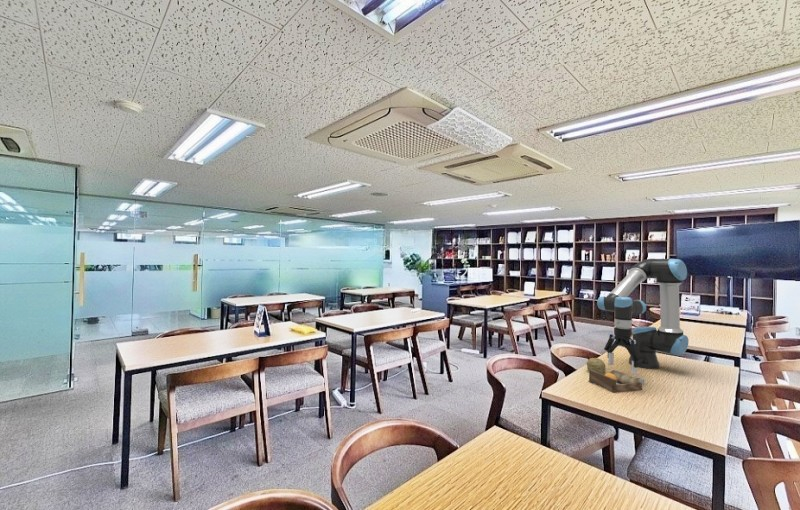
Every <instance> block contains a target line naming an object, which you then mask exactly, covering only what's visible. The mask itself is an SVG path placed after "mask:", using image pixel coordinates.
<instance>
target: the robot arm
mask: <svg viewBox="0 0 800 510" xmlns="http://www.w3.org/2000/svg"><path fill="white" fill-rule="evenodd" d="M687 277H688V269H687V266H686V263H684V261H683V260H682V259H677V258H648V259H644V260H642V261H639V262H637V263H636V264H634V265H633V266H631V268H630V269H629V270H628V272H627V274H626V276H625V277H624V278H623V279H622V280H620V282H618V284H617V285H616V286H615V287H614V288H613V289H612V290H611V292H610V293H608V294H607V295H606V296H599V297H598V299H597V302H596V306H597V307H598V309H599V310H602V311H607V312H614V319H613V320H614V325H613V326H614V327H613V333H610V334H609V336H608V340H607V342H606V344H605V346H604V348H603V350H604V351H606V352H607V359H608V362H607V363H608V366H614V365H615V363H614V362H615V360H614V358H615V353H614V351H615V350H616V348H617V347H619V346H620V347H623V348H625V349H626V351H628V354H629V355H630V356H629V358H628V364H630V365H631V374H632V375H638V368H641V369H642V368H643V369H650V370H652V369H654V370H655V369H659V368H660V363H659V362H660V361H659V359H658V356H657V351H658V352H662V353H666V354H671V355H675V356H681V355H684V353H686V351H687V349H688V348H689V343H690V342H689V341H690V340H689V337H688V335H685V334H684V330H683V329H682V328H681V325H680V321H681V320H680V285H682V284H683V281H684V280H686V279H687ZM647 279H655V280H656V281H655V282H656V284H658V285H659V305H660V307H659V308H660V326H659V327H658V328H657V327H655V326H634V327H633V318H632V317H633V316H635V315H636V316H639V315H642V314H644V313H645V312H647V311H646V310H647V305H646V303H645V301H642V300H641V299H632V297H628V296H630V294H631V293H633V291H634V290H635V289H636V288H637V287H638V286H639V285H640V283H642V282H644V281H646V280H647Z"/></svg>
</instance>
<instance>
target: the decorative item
mask: <svg viewBox="0 0 800 510" xmlns="http://www.w3.org/2000/svg"><path fill="white" fill-rule="evenodd" d="M586 367H587V371H588V372H589V370H593V371H595V372H598V373H600V374H606V370H607V368H606V363H605V362H604V361H603V360H602V359H600V358H599V357H591V358H589V359H587V361H586Z"/></svg>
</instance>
